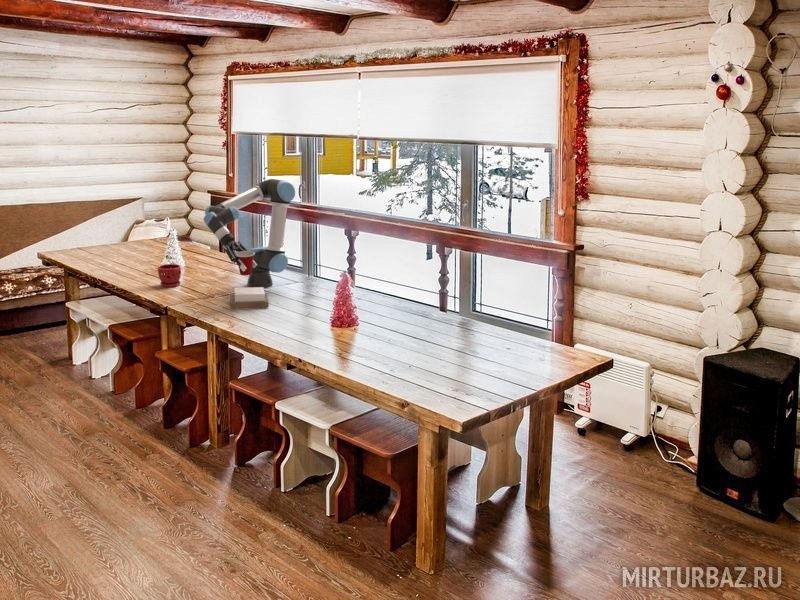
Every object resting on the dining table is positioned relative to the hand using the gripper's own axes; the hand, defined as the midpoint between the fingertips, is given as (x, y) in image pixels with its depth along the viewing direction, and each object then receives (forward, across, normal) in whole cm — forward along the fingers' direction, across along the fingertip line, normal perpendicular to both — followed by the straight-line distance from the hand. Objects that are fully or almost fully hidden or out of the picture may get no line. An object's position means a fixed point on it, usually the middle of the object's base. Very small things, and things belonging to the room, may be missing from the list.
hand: (250, 268), depth 437 cm
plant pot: (-33, -15, -62) cm, 72 cm away
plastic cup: (+1, 0, -5) cm, 5 cm away
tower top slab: (+11, -1, -14) cm, 17 cm away
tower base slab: (+14, -1, -16) cm, 21 cm away
